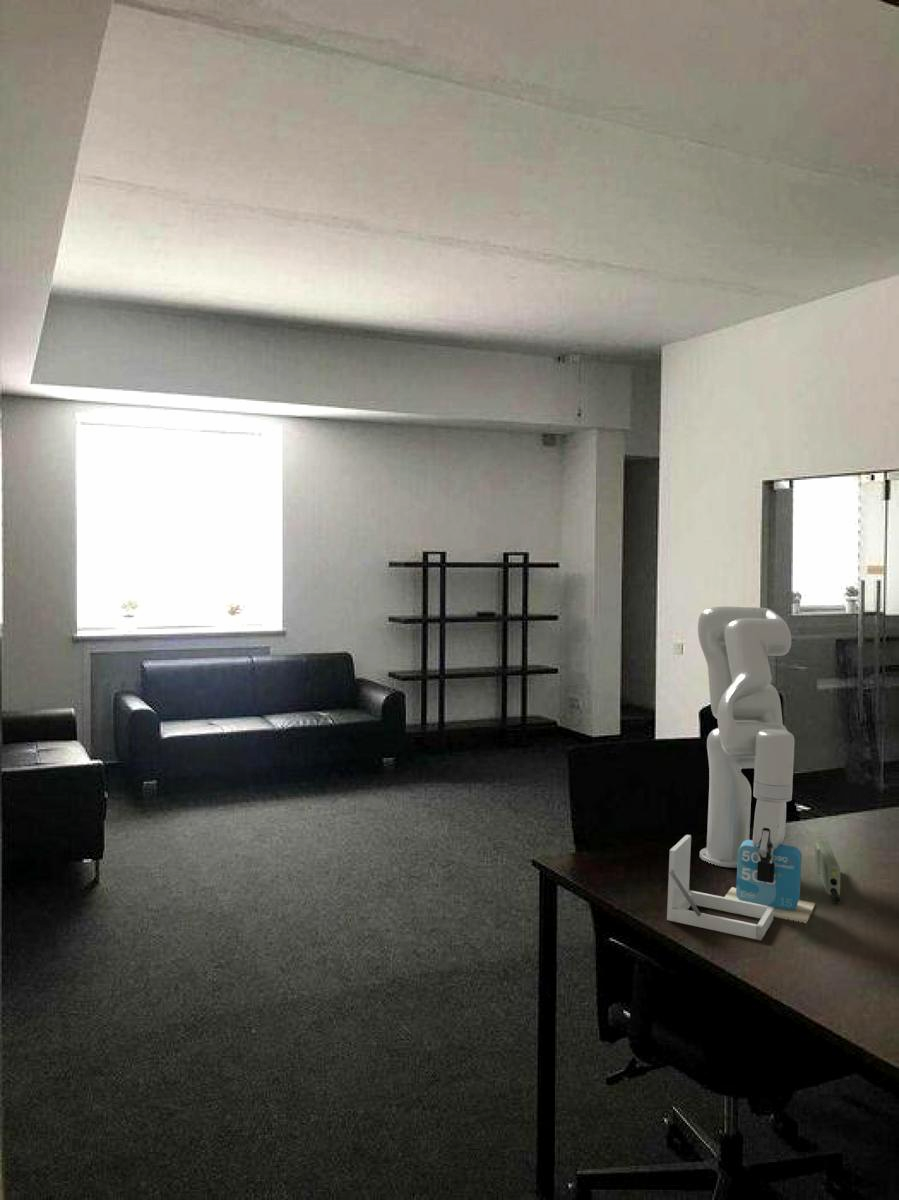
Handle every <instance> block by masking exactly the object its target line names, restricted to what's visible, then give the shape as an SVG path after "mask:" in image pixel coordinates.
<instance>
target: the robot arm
mask: <svg viewBox="0 0 899 1200" xmlns="http://www.w3.org/2000/svg"><path fill="white" fill-rule="evenodd" d="M697 634H698V641H699V645H700V647H701V650H702V653H703V656H704V658H705V660H706V661H705V662H706V664H707V671H708V673H707V674H708V686H709V689H708V690H709V700H710V701H709V703H710V708H711V713H712V716H713V717H714V718H715V719H717V727H716V728H714V729H712V730H711V731H710V732H709V734H708V736H707V739H706V749H707V758H708V759H707V760H708V768H709V769H708V770H709V773H708V775H709V777H708V778H709V780H708V783H709V785H708V786H709V787H708V788H709V789H708V806H707V807H708V809H707V828H706V829H707V833H706V847H704V848H702V849H700V851H699V858H700V859H701V860H702V861H704V862H705V861H706V862H705V863H707V862H708V864H710V863H711V864H710V865H713V864H714V866H717V867H721V868H722V867H724V868H730V869H737V862H738V849H739V848H740V846H741V844H742V843H743V842H744V841H745V840H750V833H751V832H750V826H751V809H752V808H751V807H752V806H751V803H752V794H753V797H754V798H755V799H756V804H755V809H754V820H753V831H752V832H753V833H752V840H753V841H752V844H753V846H754V847H756V846H758V845H759V843H760V849H759V857H758V868H757V880H758V881H763V882H768V883H773V882H774V866H775V863H773V858H774V850H775V849H777V848H778V847H779V846H780V845H782V843H783V841H784V840H785V836H786V835H785V834H786V823H787V822H786V821H787V802H790V801H792V800H793V797H792V796H793V784H794V783H793V779H794V778H793V777H794V763H795V762H794V761H795V760H794V759H795V737H794V736H795V735H794V734H793V733H791V732H789V730H788V729H787V728H786V726H785V725H784V724H783V715H782V714H783V713H782V712H783V711H782V703H781V698H780V694H779V692H778V690H777V689H776V687H775V686H774V685H773V684H771V683H772V681H773V680H772V679H773V676H772V673H771V668H770V661H769V657H768V656H772V657H777V656H778V657H781V656H785V655H787V654H788V653H789V651H790V649H791V647H792V634H791V631H790V628H789V626H788V624H787V622H786V620H784V619H783V618H782V617H781V616H780V615H778V614H777V612H775V611H773V610H772V609H770V608H767V607H757V606H756V607H755V606H753V607H750V606H749V607H748V606H715V607H714V606H713V607H710V608H706V609H705V610H703V611H702V612H701V613H700V615H699V617H698V623H697ZM742 769H754V770H753V773H754V774H753V793H752V786H751V784H750V782H749V780H748V778H747V777H746V775H744V773H742ZM768 845H772V848H771V847H768ZM768 851H771V853H770V854H769V852H768Z"/></svg>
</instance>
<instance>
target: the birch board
mask: <svg viewBox="0 0 899 1200" xmlns="http://www.w3.org/2000/svg"><path fill="white" fill-rule="evenodd" d="M724 897H726V898H731V899H736V900H739V899H738V898H737V895H736V887H734V886H732V887H731V888H730V889H729V890H728V891H727V893H725V896H724ZM815 907H816V902H811V901H806V900H805V901H804V900H800V899H799V901H798V904H797V907H796V908H795V909H793V910H785V909H779V908H774V917H775V918H778V919H784V920H788V919H789V920H788V921H793V920H794V921H793V922H798V921H799V922H798V923H802V922H803V923H804V924H807V923H808V921H809V919H810V917H811V915H812V913H813V911H814V909H815Z"/></svg>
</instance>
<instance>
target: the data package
mask: <svg viewBox="0 0 899 1200" xmlns="http://www.w3.org/2000/svg"><path fill="white" fill-rule="evenodd" d="M752 841H753V839H749V840H745V841H744V842H743V843H742V844H741V846H740V848H739V849H738V862H737V868H736V887H735V888H736V895H737V898H738V899H739V900H741V901H746V902H751V903H756V904H761V905H766V906H771V907H774V908H779V909H785V910H793V909H795V908H796V907H797V904H798V901H799V900H800V896H801V893H800V892H801V873H802V869H801V868H802V852H801V850H800V849H799V848H798V847H797V846H791V845H785V844H781V845H780V846H779V847H778V848H777V849H775V850H774V858H773V863H775V866H774V882H773V883H768V882H763V881H758V880H757V868H758V857H759V849H760V843H759V845H758V846H756V847H754V846H753V844H752ZM768 847H771V848H772V845H768ZM768 852H769V854H770V853H771V851H768Z"/></svg>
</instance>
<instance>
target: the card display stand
mask: <svg viewBox="0 0 899 1200" xmlns="http://www.w3.org/2000/svg"><path fill="white" fill-rule="evenodd" d="M691 843H692V835H691V834H686V835H684V836H683V837H682V838H681V839H680V840H679V841H678V842H677V843H676V844H675V845H673V846H672V847H671V848H670V849H669V854H668V855H669V858H668V859H669V860H668V882H667V883H668V885H667V908H666V920H667V921H670V922H675V923H679V924H683V925H688V926H693V927H698V928H703V929H707V930H711V931H714V932H715V931H717V932H720V933H724V934H730V935H734V936H739V937H743V938H748V939H752V940H758V941H762V939H763V938H764V937H765V935H766V932H767V931H768V929H769V928H770V926H771V924H772V922H773V921H774V907H771V906H766V905H761V904H756V903H751V902H746V901H741V900H736V899H731V898H726V897H725V896H721V895H716V894H710V893H706V892H705V893H704V892H701V891H695V890H690V876H691V875H690V874H691V873H690V870H691V852H692V851H691V846H692V844H691ZM697 906H698V907H703V908H708V909H713V910H717V911H723V912H727V913H731V914H737V915H741V916H746V917H751V918H756V919H759V921H758V923H757V924H756V923H752V922H748V921H742V920H738V919H732V918H727V917H724V916H719V915H713V914H708V913H704V912H701V911H700V909H698V907H697ZM690 907H691V908H692V910H689V909H690Z"/></svg>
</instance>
